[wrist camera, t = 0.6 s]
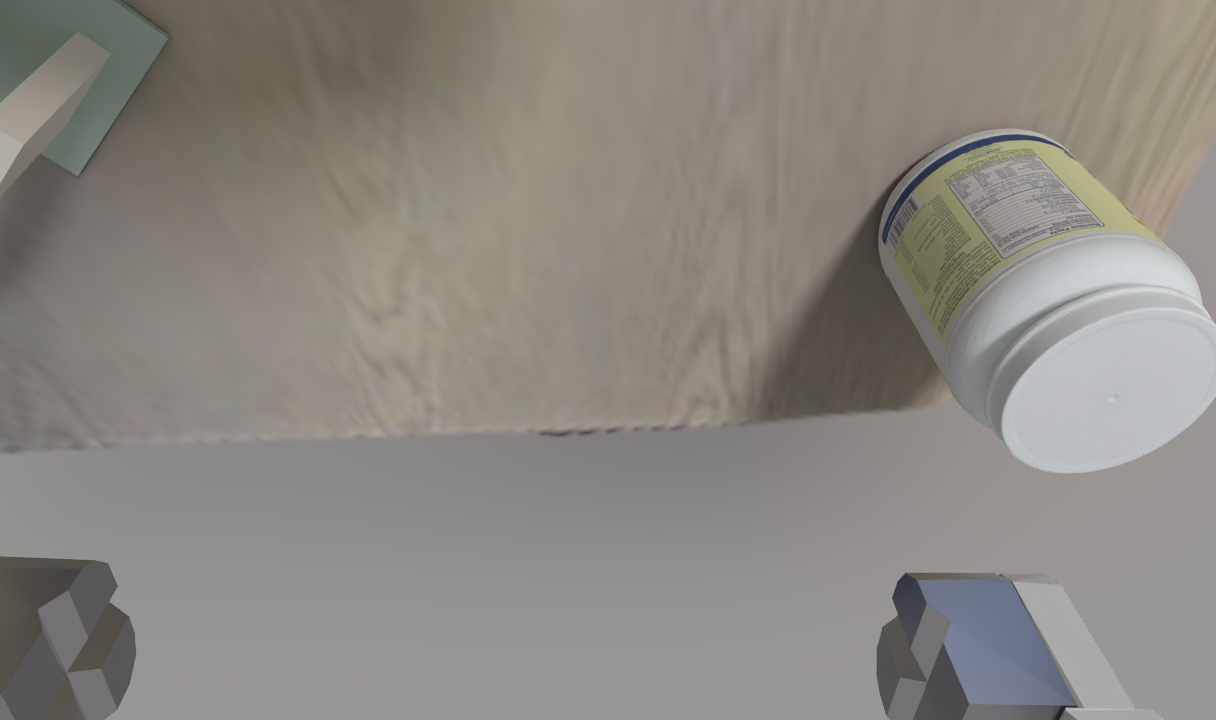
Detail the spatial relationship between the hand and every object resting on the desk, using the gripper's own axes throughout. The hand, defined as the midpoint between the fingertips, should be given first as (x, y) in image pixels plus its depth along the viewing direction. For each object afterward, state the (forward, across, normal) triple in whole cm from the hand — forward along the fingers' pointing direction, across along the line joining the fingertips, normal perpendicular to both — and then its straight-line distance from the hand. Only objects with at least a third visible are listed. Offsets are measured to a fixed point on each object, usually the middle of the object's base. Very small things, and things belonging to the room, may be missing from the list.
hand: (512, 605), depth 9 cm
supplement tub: (+43, -25, +14) cm, 52 cm away
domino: (+39, +25, +6) cm, 47 cm away
